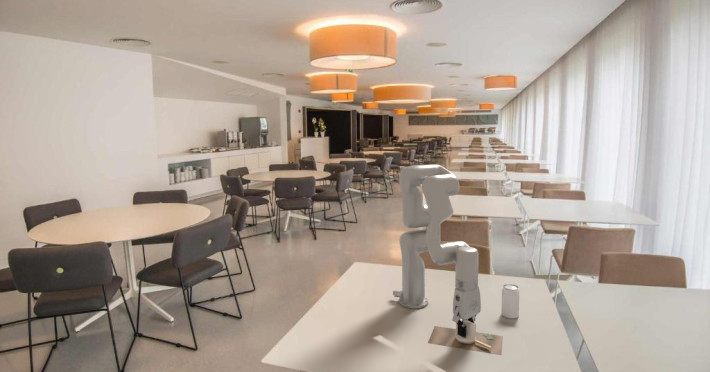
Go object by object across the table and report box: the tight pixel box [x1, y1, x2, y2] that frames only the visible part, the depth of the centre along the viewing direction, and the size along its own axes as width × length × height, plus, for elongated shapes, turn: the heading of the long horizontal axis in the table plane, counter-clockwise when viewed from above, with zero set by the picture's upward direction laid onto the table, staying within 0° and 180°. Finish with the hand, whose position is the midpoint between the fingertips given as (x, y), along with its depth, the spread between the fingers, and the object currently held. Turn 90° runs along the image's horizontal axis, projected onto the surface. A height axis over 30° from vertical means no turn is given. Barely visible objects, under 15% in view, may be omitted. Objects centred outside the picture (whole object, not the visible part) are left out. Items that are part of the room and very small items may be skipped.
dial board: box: [427, 325, 504, 356], centre depth 147 cm, size 24×13×2 cm, turn 69°
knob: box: [455, 318, 492, 349], centre depth 144 cm, size 14×7×6 cm, turn 39°
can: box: [501, 283, 520, 320], centre depth 167 cm, size 6×6×12 cm
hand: (465, 333), depth 147 cm, fingers open, 3 cm apart
